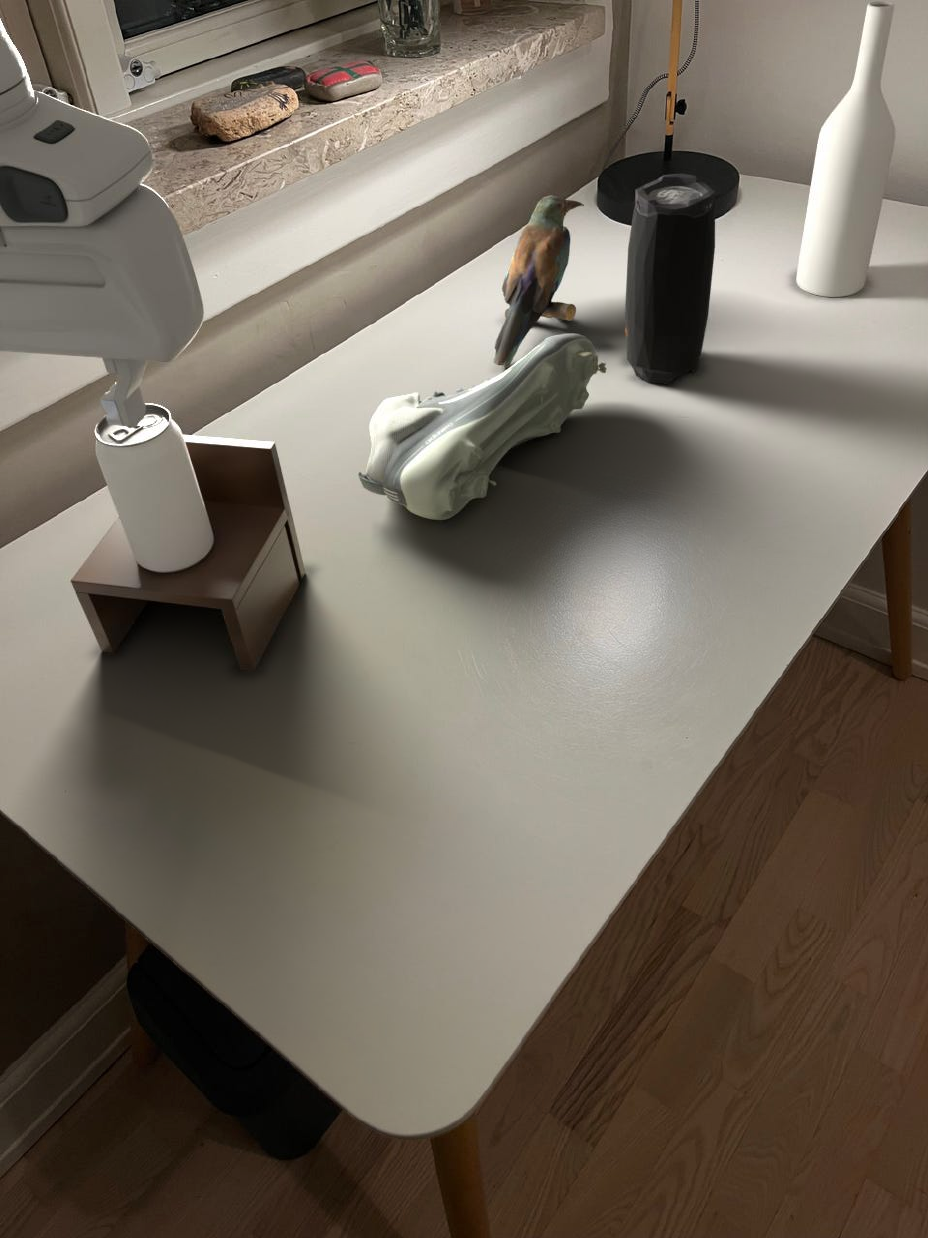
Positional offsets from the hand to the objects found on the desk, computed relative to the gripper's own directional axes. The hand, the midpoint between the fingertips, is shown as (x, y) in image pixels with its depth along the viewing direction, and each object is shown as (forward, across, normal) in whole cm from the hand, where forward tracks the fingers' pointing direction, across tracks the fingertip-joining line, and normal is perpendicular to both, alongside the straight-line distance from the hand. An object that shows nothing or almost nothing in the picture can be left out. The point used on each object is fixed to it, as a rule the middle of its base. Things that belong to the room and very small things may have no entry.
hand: (51, 414), depth 57 cm
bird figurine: (+30, +15, +69) cm, 76 cm away
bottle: (+30, +48, +83) cm, 101 cm away
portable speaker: (+30, +30, +62) cm, 75 cm away
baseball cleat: (+30, +13, +44) cm, 55 cm away
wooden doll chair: (+30, -5, +16) cm, 35 cm away
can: (+22, -6, +15) cm, 27 cm away
